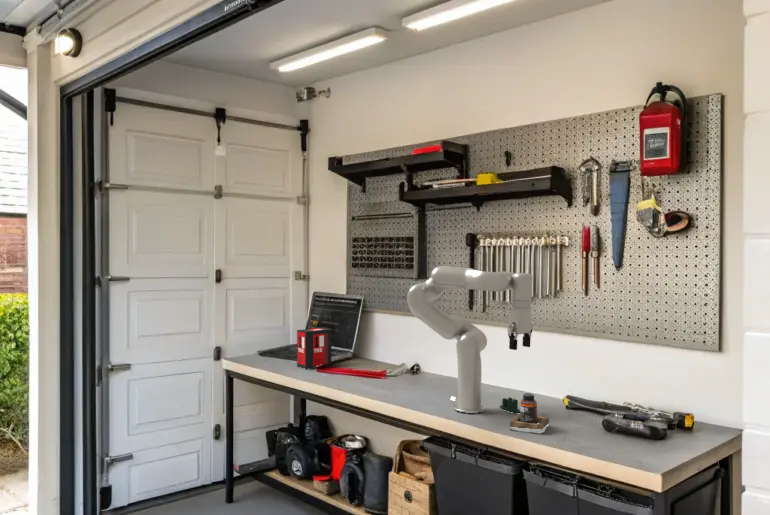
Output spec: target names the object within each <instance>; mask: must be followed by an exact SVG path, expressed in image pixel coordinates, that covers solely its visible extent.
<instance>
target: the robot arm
mask: <svg viewBox="0 0 770 515" xmlns="http://www.w3.org/2000/svg"><path fill="white" fill-rule="evenodd" d="M449 288H456V289H466V290H476V291H484V292H485V291H487V292H500V293H501V292H504V291H508V290H509V291H510V290H511V291H512V292H511V308H510V311H509V319H508V327H507V330H506V331H507V336H508V339H509V345H508V346H509V347H508V349H510V350H512V351H517V350H518V339H517V338H518V336H519V335H522V347H526V348H530V347H531V339H532V338H531V337H532V333H533V328H534V324H532V297H533V296H532V295H533V275H532V274H531V273H528V272H527V273H525V272H511V271H506V270H505V271H485V270H484V271H482V270H476V269H474V268H471V267H459V266H458V267H457V266H450V265H440V266H439V265H438V266H436V267H435V268H433V270H432V271H431V274H430V277H429V278H428V280H426V281H425V282H420V283H416V284H414V285H413V286H411V287H410V288H409V290H408V292H407V296H406V300H407V306H408V309H409V310H410V312H411V313H412V314H413V315H414V316H415V318H417V319H418V320H420V321H421V322H422V323H424V324H425V325H427V326H428V327H429V328H430V329H432V331H434V332H435V333H437V334H438V335H440V336H441V338H442V339H445V340H447V341H449V340H454V339H455V340H457V341H456V355H457V396H454V395H452V396H451V397H450V399H449V400H450V401H449V402H450V403H454V406H453V410H454V409H455V410H457V411H462V412H468V413H475V414H479V413H478V412H481V413H484V412H485V411H486V406H484V405H482V358H481V352H482V351H483V350H485V349H486V347H487V345H488V339H487V336H486V335H485V333H484V332H483V331H482V330H481V329H479V328H478V327H477V326H475V325H474V324H473V323H471V322H470V321H469V320H467V319H466V318H465V317H463V316H460V315H458V314H450V315H449V314H447V313H446V312H445V311H443V310H441V309H440V308H439V307H437V306H436V305H434V304H432V303H431V302H433V301H435V299H437V298H438V297H440V296H441V295H442V294H443V293H444V292H445V291H447V290H448V289H449ZM455 410H454V411H455ZM457 411H456V412H457ZM483 411H484V412H483ZM468 413H467V414H468Z"/></svg>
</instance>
